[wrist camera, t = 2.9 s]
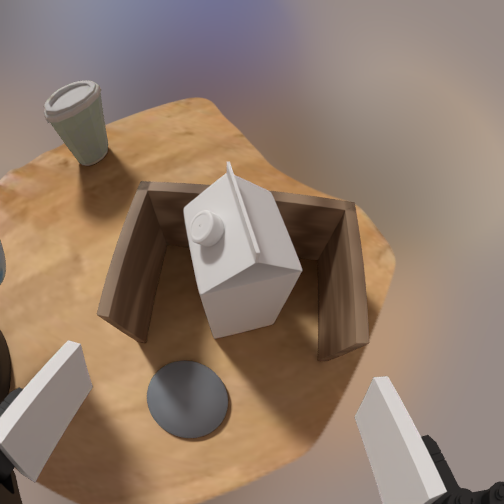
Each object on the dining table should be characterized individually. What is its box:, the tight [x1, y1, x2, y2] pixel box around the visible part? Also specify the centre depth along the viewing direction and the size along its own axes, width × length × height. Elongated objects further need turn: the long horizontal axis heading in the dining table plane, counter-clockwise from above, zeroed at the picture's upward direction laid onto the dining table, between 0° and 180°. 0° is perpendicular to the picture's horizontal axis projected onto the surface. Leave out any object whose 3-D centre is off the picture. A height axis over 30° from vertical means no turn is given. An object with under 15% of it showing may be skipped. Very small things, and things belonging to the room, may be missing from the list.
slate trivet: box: [147, 361, 228, 438], centre depth 27 cm, size 9×9×1 cm
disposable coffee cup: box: [44, 81, 108, 166], centre depth 38 cm, size 11×11×15 cm
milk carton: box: [184, 162, 302, 339], centre depth 25 cm, size 7×7×19 cm
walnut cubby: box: [97, 181, 369, 361], centre depth 28 cm, size 22×14×11 cm, turn 85°
